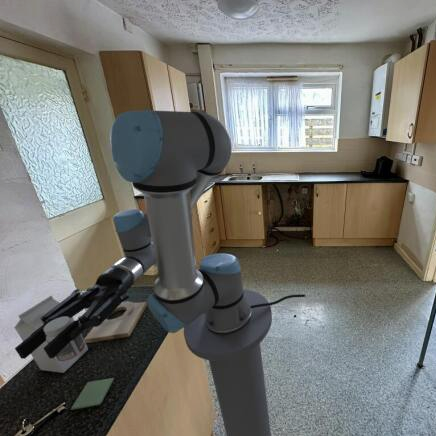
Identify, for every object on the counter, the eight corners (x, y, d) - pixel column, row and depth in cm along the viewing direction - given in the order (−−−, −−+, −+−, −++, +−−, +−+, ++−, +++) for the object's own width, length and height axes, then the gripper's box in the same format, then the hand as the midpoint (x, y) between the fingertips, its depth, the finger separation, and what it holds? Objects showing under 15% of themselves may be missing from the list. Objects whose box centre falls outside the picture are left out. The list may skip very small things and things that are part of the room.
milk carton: (40, 370, 62) (6, 314, 55) (67, 347, 69) (40, 294, 62) (63, 373, 61) (31, 317, 54) (89, 349, 68) (63, 296, 61)
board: (149, 301, 86) (148, 298, 85) (129, 336, 72) (127, 333, 71) (108, 307, 84) (107, 303, 84) (79, 344, 70) (78, 340, 69)
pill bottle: (77, 340, 54) (62, 312, 51) (91, 346, 53) (77, 317, 50) (52, 359, 50) (34, 329, 47) (67, 365, 49) (50, 335, 45)
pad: (114, 379, 60) (113, 377, 59) (100, 404, 54) (99, 403, 54) (88, 383, 59) (87, 382, 59) (71, 410, 53) (70, 408, 53)
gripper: (154, 288, 67) (87, 366, 45) (93, 289, 67) (-2, 367, 46) (148, 265, 64) (73, 338, 42) (84, 266, 64) (-23, 339, 43)
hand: (34, 353), depth 44 cm, fingers closed on pill bottle, 5 cm apart
